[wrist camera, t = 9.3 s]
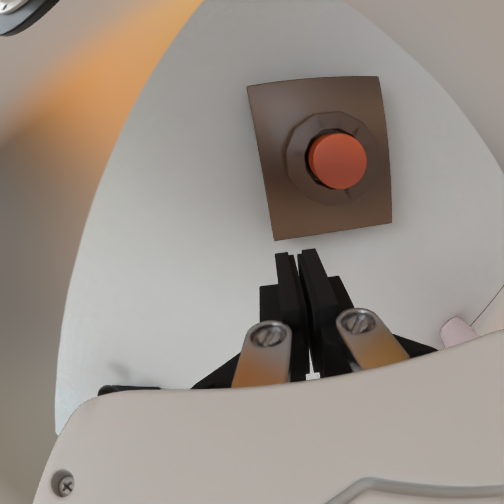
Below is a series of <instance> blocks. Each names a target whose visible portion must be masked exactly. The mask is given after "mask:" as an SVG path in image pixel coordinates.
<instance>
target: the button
mask: <svg viewBox="0 0 504 504" xmlns="http://www.w3.org/2000/svg"><path fill="white" fill-rule="evenodd" d="M308 160H309V166H310V168H311V170H312V172H313V174H314V175H315V176H316V177H317V178H318V179H319V180H321V181H322V182H323V183H324V184H326V185H327V186H329V187H332V188H335V189H345V188H349V187H351V186H353V185H355V184H356V183H357V182H359V180H360V179H361V178H362V177H363V175H364V173H365V170H366V165H367V158H366V153H365V151H364V148H363V147H362V145H361V144H360V143H359V142H358V141H357V140H356V139H355V138H353V137H352V136H349V135H347V134H341V133H327V134H324V135H322V136H320V137H319V138H317V139H316V140H315V141H314V142H313V144H312V146H311V148H310V150H309V155H308Z"/></svg>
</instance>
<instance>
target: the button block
mask: <svg viewBox="0 0 504 504" xmlns="http://www.w3.org/2000/svg"><path fill="white" fill-rule="evenodd" d="M247 92H248V97H249V103H250V108H251V113H252V118H253V123H254V129H255V134H256V139H257V145H258V150H259V156H260V161H261V167H262V173H263V178H264V184H265V190H266V196H267V201H268V207H269V213H270V219H271V225H272V231H273V238H274V241H278V240H285V239H291V238H297V237H304V236H310V235H317V234H323V233H330V232H336V231H343V230H349V229H356V228H362V227H369V226H376V225H382V224H389V223H392V201H391V176H390V161H389V149H388V138H387V129H386V121H385V114H384V107H383V100H382V94H381V88H380V83H379V77H377V76H342V77H321V78H307V79H296V80H287V81H278V82H271V83H264V84H257V85H251V86H247ZM327 133H341V134H347V135H349V136H352V137H353V138H355V139H356V140H357V141H358V142H359V143H360V144H361V145H362V147H363V148H364V151H365V153H366V158H367V165H366V170H365V173H364V175H363V177H362V178H361V179H360V180H359V182H357V183H356V184H355V185H353V186H351V187H349V188H345V189H335V188H332V187H329V186H327V185H326V184H324V183H323V182H322V181H321V180H319V179H318V178H317V177H316V176H315V175H314V174H313V172H312V170H311V168H310V166H309V160H308V155H309V150H310V148H311V146H312V144H313V142H314V141H315V140H316V139H317V138H319V137H320V136H322V135H324V134H327Z"/></svg>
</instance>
